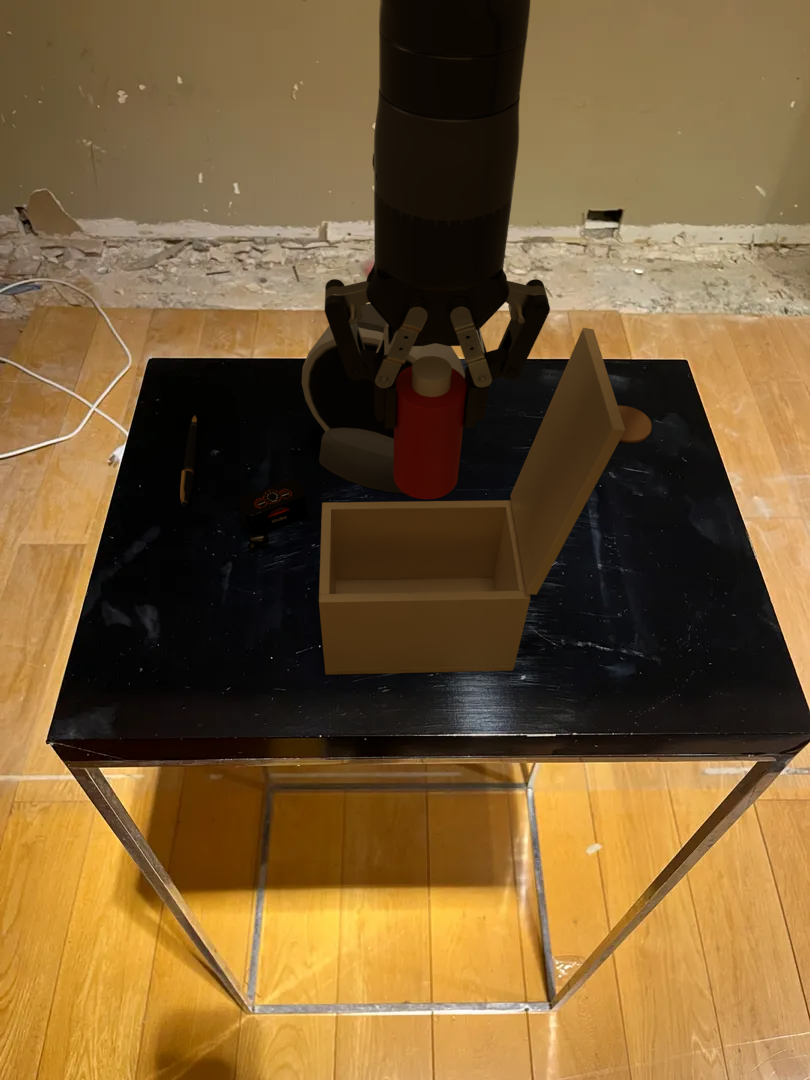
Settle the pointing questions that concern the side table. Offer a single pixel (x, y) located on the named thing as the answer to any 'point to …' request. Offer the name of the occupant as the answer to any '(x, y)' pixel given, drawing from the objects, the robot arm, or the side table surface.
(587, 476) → the breadbox lid
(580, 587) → the side table surface
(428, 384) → the sauce bottle
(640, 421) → the coaster
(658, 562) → the side table surface
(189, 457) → the fountain pen
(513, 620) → the box
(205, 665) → the side table surface
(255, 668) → the side table surface
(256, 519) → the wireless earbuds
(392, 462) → the alarm clock
